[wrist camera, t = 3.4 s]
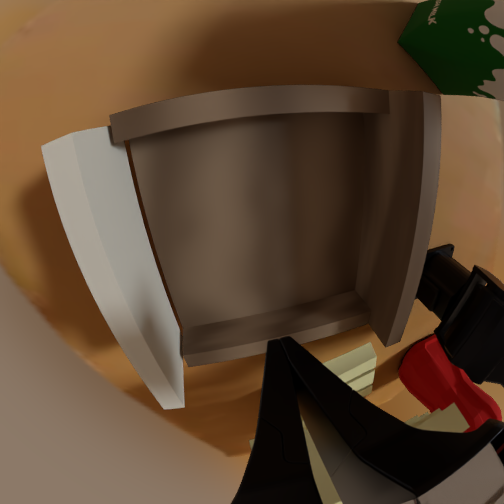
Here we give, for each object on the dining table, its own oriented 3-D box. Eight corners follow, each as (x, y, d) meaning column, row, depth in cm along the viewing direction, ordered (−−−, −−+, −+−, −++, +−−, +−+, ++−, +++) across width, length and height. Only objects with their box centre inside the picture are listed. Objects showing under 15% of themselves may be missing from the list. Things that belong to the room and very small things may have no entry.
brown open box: (363, 92, 17) (440, 95, 10) (356, 286, 26) (399, 341, 19) (132, 114, 15) (86, 116, 8) (187, 324, 24) (190, 398, 17)
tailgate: (121, 124, 13) (71, 132, 7) (182, 336, 22) (184, 407, 16) (99, 131, 13) (41, 146, 7) (165, 339, 22) (164, 409, 16)
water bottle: (396, 348, 34) (479, 478, 12) (445, 324, 35) (525, 429, 14) (383, 381, 38) (445, 494, 17) (429, 358, 40) (493, 454, 18)
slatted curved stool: (230, 349, 26) (269, 521, 11) (372, 295, 27) (469, 426, 12) (284, 437, 42) (310, 516, 26) (363, 406, 42) (400, 479, 27)
